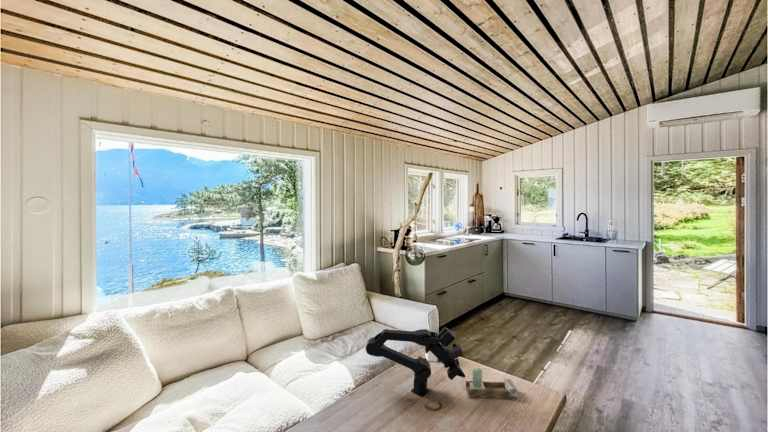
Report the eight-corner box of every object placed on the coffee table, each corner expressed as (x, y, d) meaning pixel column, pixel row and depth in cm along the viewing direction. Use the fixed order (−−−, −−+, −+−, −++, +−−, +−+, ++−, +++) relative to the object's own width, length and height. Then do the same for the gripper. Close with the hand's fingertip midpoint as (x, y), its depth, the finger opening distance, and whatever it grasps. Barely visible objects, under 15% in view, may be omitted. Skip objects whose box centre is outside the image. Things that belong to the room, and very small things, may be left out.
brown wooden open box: (468, 398, 143) (468, 387, 143) (465, 388, 151) (465, 377, 151) (516, 399, 142) (517, 388, 142) (511, 389, 150) (511, 379, 150)
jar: (443, 361, 178) (442, 339, 178) (429, 362, 176) (429, 341, 176) (436, 354, 187) (436, 333, 187) (423, 355, 185) (423, 335, 185)
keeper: (471, 392, 145) (471, 372, 145) (469, 386, 150) (469, 366, 150) (485, 392, 144) (485, 372, 144) (482, 386, 149) (482, 367, 149)
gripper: (455, 349, 138) (481, 375, 137) (450, 332, 157) (473, 355, 156) (437, 367, 139) (463, 392, 138) (434, 348, 157) (456, 370, 157)
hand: (464, 376), depth 147 cm, fingers closed
